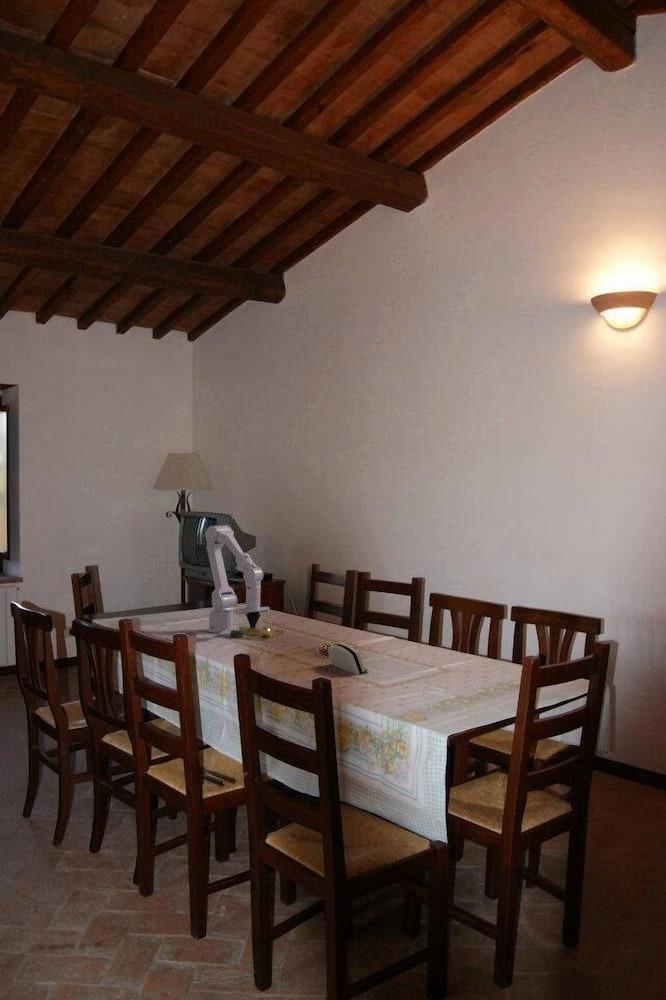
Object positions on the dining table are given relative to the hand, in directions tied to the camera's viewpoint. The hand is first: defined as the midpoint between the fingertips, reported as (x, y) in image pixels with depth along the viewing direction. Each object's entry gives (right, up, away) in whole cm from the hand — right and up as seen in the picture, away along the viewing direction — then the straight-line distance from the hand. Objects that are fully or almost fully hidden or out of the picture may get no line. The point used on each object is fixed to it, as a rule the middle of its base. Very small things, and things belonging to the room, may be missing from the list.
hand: (252, 631), depth 337 cm
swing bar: (+1, -1, -3) cm, 3 cm away
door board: (+2, -3, 0) cm, 3 cm away
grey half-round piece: (+37, -6, -49) cm, 62 cm away
